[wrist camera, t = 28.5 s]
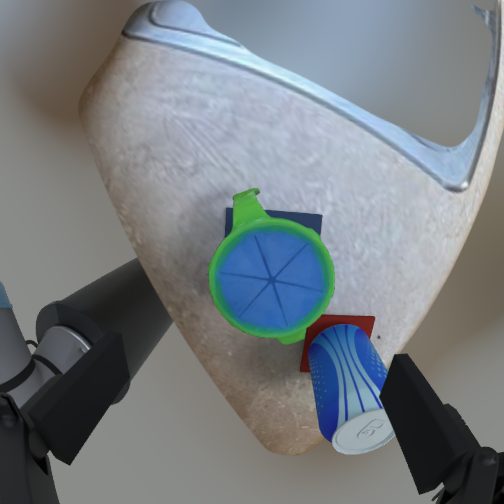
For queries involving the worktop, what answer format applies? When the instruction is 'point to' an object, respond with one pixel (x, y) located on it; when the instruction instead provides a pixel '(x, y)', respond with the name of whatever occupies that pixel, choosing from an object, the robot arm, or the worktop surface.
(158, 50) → the worktop surface
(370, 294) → the worktop surface
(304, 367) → the red mat
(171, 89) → the worktop surface
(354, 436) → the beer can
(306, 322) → the snack cup
